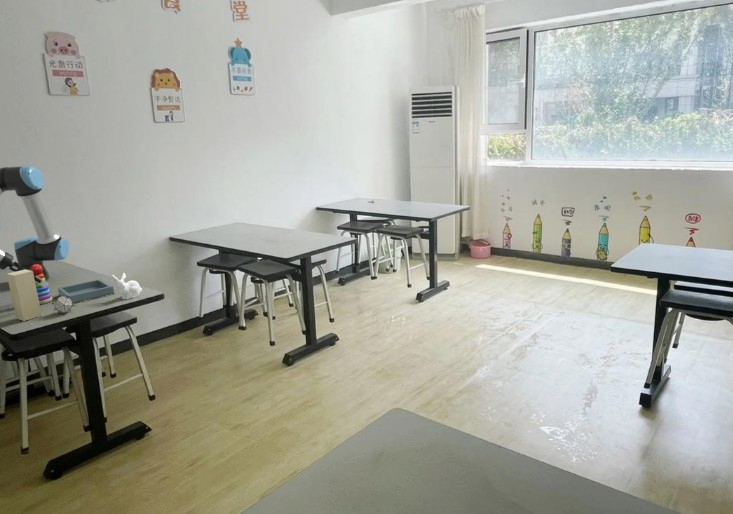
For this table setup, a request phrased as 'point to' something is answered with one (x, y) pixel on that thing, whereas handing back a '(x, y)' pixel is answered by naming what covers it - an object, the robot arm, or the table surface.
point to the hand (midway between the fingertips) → (43, 282)
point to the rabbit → (127, 287)
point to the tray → (86, 290)
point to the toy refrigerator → (24, 294)
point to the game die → (63, 304)
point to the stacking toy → (42, 292)
